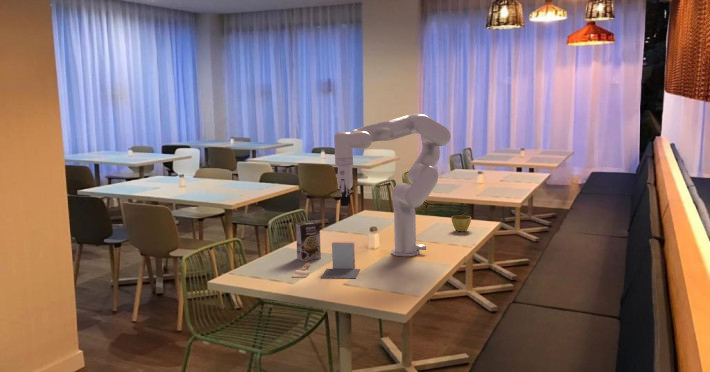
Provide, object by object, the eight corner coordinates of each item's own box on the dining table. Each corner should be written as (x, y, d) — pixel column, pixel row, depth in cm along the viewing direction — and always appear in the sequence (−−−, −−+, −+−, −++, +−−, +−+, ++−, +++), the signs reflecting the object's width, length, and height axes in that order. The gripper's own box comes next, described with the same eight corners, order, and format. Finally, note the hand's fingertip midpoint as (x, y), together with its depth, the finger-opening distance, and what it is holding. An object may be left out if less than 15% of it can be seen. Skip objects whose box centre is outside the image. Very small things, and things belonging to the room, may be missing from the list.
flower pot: (474, 229, 309) (474, 216, 308) (466, 234, 301) (466, 220, 300) (456, 228, 315) (456, 214, 314) (448, 232, 306) (448, 218, 305)
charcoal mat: (360, 269, 246) (360, 269, 246) (355, 278, 234) (355, 277, 234) (326, 269, 248) (326, 268, 248) (320, 278, 236) (320, 277, 236)
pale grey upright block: (355, 267, 249) (354, 241, 247) (354, 269, 247) (353, 243, 245) (333, 267, 250) (333, 241, 249) (332, 269, 248) (331, 243, 246)
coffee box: (302, 261, 260) (300, 225, 258) (296, 258, 266) (295, 222, 263) (321, 258, 264) (320, 222, 262) (315, 255, 270) (314, 220, 267)
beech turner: (301, 265, 255) (301, 262, 255) (315, 265, 254) (315, 262, 254) (291, 277, 238) (291, 275, 238) (306, 277, 237) (306, 275, 237)
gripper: (349, 164, 242) (351, 208, 245) (355, 159, 258) (357, 201, 261) (331, 164, 243) (333, 208, 246) (338, 159, 259) (340, 201, 262)
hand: (345, 204), depth 254 cm, fingers open, 3 cm apart
